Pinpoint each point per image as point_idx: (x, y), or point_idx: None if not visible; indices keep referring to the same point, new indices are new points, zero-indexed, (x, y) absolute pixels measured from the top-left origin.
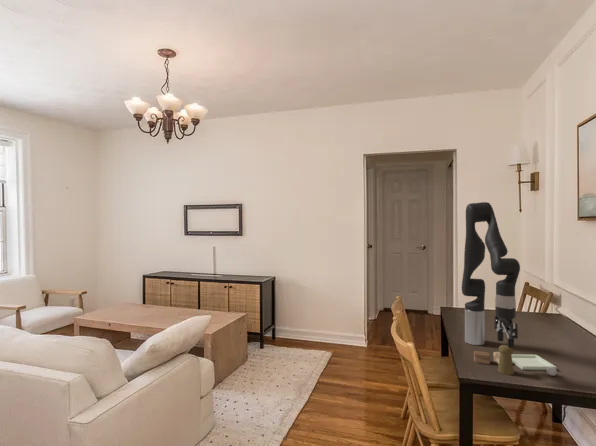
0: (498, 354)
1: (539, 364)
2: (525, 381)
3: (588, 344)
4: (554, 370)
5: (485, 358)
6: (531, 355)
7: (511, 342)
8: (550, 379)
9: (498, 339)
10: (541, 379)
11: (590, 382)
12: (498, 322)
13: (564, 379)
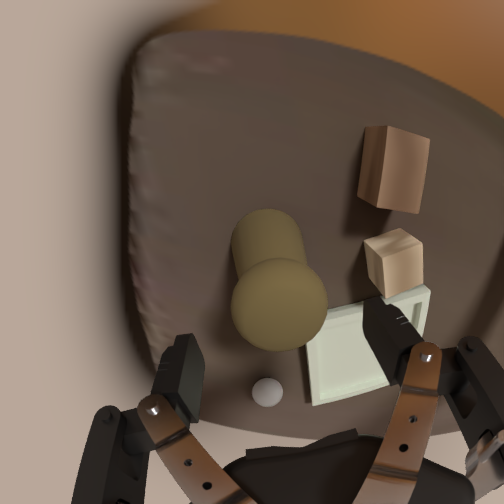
0: (392, 258)
1: (348, 372)
2: (177, 292)
3: (439, 433)
4: (255, 400)
5: (371, 179)
6: None
7: (159, 383)
8: (228, 370)
9: (370, 307)
10: (219, 348)
11: (237, 428)
12: (399, 489)
13: (240, 397)
